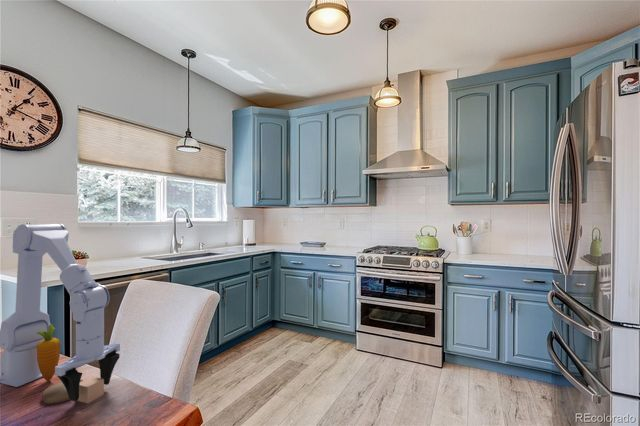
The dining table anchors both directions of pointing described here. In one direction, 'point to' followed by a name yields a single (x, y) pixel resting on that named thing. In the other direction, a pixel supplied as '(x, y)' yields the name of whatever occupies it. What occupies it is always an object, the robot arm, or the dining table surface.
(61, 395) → the olive round dish
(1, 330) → the robot arm
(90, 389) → the tan block
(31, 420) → the dining table surface
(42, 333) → the carrot
